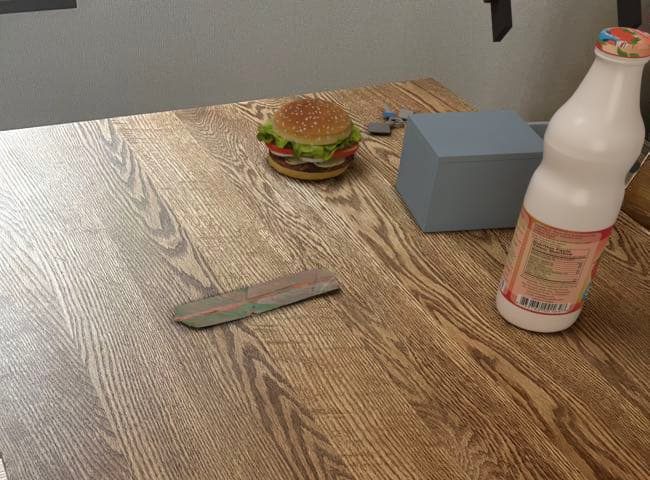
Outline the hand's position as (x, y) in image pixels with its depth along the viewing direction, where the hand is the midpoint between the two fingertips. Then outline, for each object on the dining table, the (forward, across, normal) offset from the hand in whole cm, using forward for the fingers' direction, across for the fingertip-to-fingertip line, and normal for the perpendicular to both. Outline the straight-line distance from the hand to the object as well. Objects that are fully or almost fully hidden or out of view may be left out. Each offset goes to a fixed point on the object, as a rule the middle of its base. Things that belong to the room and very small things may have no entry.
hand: (567, 33), depth 81 cm
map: (+21, +31, -15) cm, 40 cm away
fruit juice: (+25, 0, -10) cm, 27 cm away
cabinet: (+7, 0, -28) cm, 29 cm away
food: (-3, +18, -39) cm, 43 cm away
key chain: (-12, +1, -48) cm, 49 cm away
